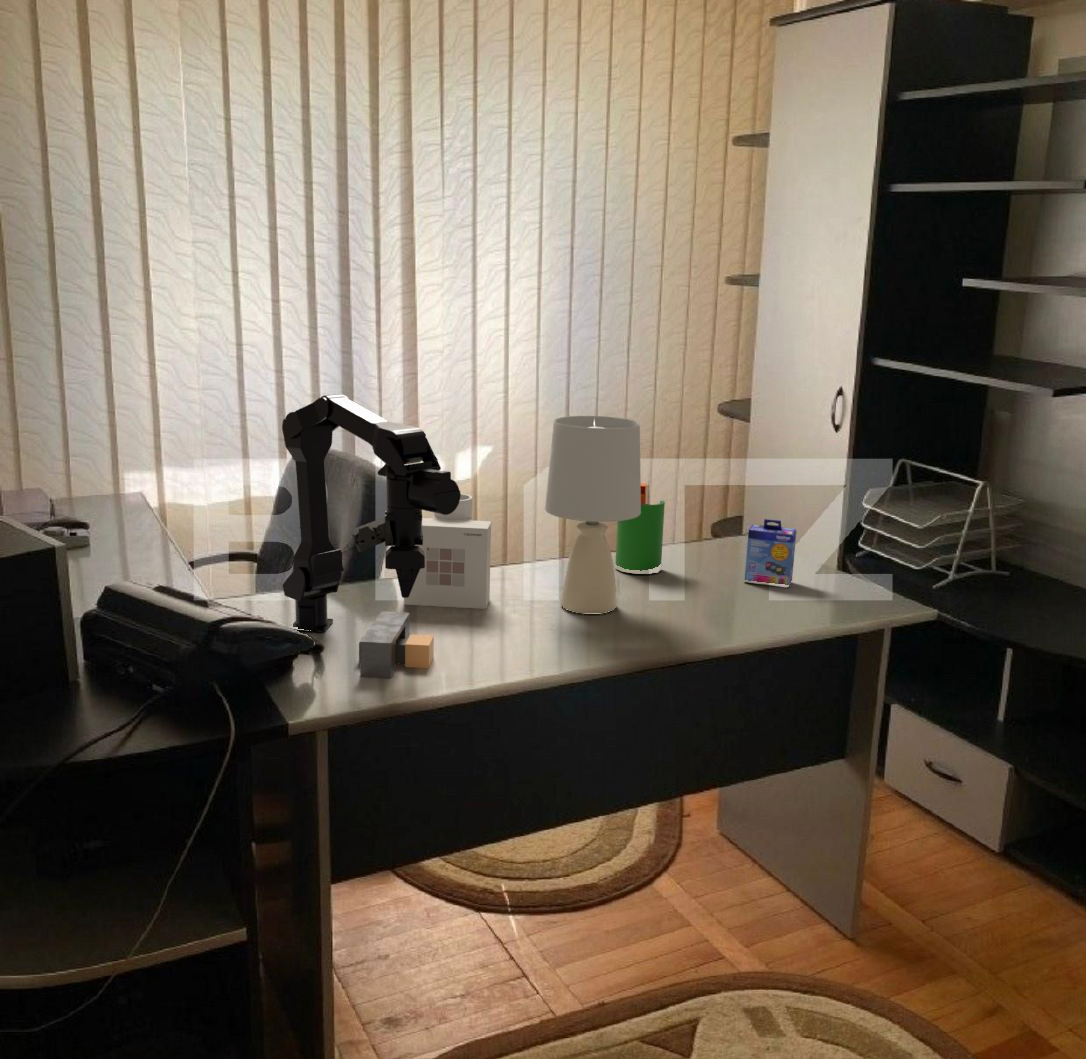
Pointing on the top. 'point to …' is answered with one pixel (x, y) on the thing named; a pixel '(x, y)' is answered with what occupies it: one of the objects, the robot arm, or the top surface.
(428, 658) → the plug
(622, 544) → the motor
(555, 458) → the lamp
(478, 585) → the white square bottle
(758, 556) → the ink cartridge box
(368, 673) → the housing
